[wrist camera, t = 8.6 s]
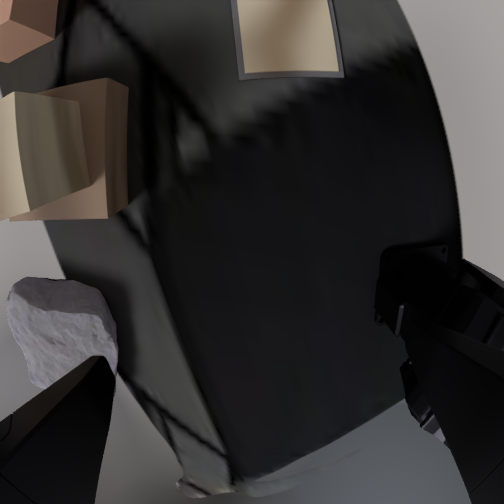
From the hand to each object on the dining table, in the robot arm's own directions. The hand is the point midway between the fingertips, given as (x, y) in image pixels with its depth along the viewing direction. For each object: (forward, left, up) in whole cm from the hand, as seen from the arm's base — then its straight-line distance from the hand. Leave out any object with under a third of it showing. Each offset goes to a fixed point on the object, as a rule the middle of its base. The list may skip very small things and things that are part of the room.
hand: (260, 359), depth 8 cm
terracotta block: (+15, -19, -13) cm, 28 cm away
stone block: (+16, +8, -14) cm, 22 cm away
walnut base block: (+11, -7, -13) cm, 19 cm away
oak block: (+11, -7, -9) cm, 16 cm away
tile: (-4, -13, -13) cm, 19 cm away
